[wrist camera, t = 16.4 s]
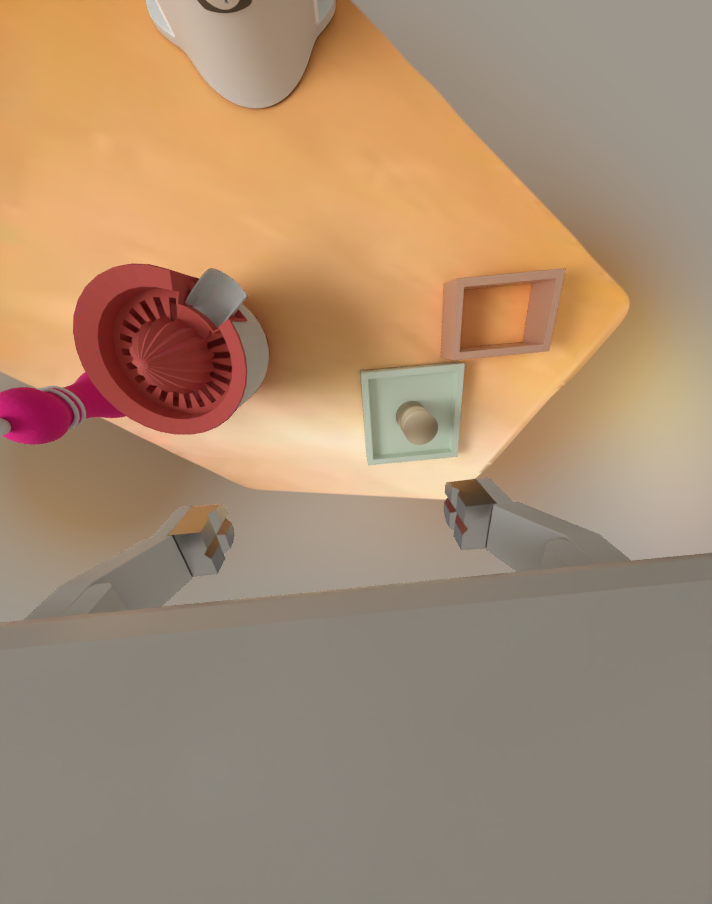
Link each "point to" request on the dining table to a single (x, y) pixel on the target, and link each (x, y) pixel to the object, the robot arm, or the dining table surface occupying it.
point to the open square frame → (537, 320)
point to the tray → (398, 385)
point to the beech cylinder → (416, 423)
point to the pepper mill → (50, 410)
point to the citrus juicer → (170, 346)
